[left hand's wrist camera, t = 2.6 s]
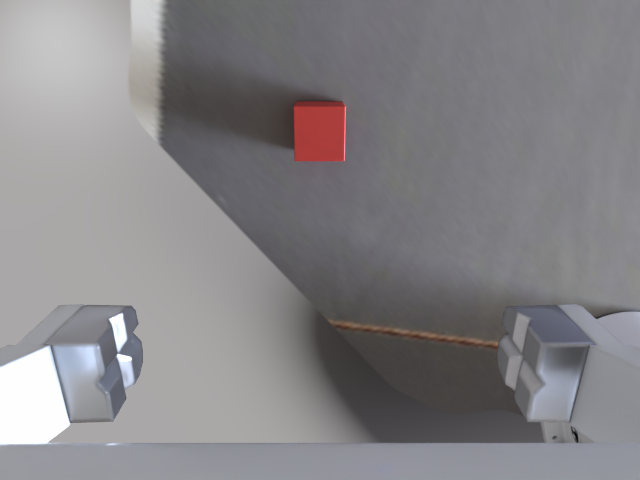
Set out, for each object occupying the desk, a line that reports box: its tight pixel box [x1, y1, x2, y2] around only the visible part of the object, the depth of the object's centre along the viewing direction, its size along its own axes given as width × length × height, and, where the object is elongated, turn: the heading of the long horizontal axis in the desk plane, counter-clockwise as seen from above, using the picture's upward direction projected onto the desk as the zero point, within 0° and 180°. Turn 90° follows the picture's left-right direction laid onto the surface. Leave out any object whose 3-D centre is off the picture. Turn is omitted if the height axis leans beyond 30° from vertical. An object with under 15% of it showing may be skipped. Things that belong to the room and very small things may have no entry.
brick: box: [294, 102, 346, 161], centre depth 40 cm, size 4×4×5 cm
